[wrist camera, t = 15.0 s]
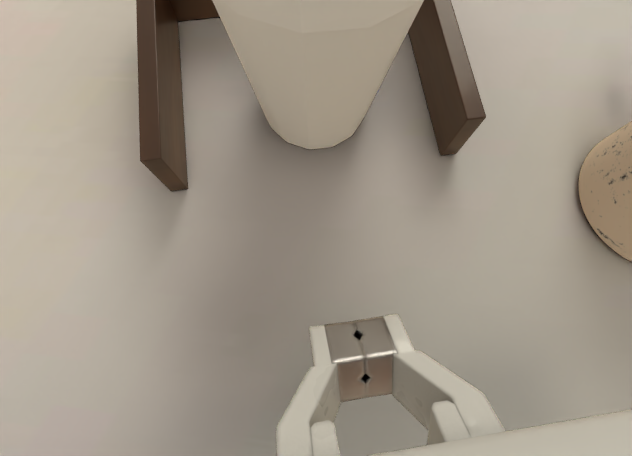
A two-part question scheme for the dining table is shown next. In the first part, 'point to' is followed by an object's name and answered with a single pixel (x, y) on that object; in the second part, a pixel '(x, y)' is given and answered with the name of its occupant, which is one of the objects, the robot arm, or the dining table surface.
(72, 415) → the dining table surface
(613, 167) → the teacup with lid
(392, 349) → the robot arm
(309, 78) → the foam cup
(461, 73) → the bay
